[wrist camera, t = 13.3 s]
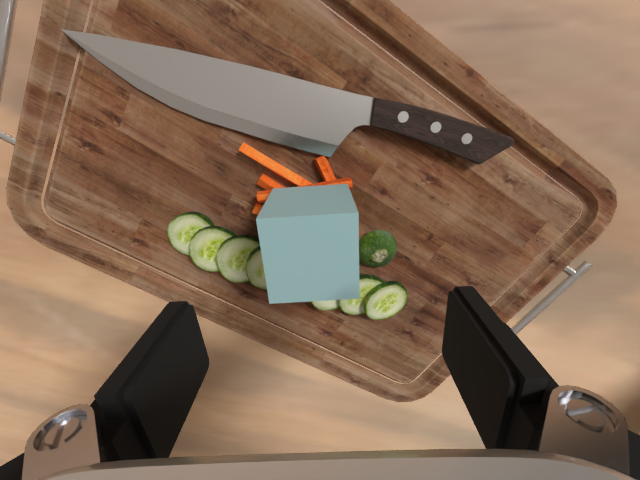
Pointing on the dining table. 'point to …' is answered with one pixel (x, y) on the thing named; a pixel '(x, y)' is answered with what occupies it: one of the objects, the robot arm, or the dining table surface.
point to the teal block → (310, 244)
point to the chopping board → (294, 169)
